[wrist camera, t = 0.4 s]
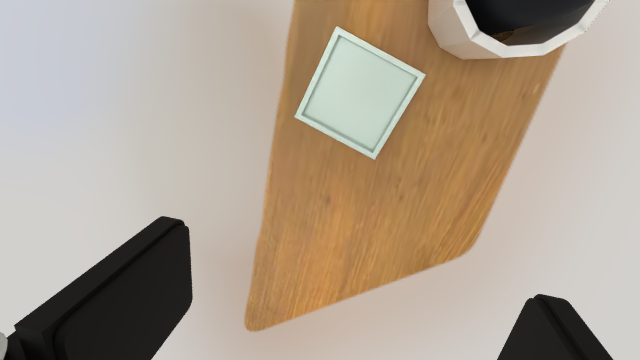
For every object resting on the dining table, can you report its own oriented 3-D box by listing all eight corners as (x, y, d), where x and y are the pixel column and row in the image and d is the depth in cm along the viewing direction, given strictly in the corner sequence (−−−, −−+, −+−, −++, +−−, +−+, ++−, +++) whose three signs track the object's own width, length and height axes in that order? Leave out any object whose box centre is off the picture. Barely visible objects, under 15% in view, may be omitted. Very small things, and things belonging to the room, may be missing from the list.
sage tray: (338, 28, 36) (336, 25, 33) (422, 74, 36) (426, 74, 34) (299, 113, 40) (294, 117, 38) (374, 154, 40) (374, 159, 38)
